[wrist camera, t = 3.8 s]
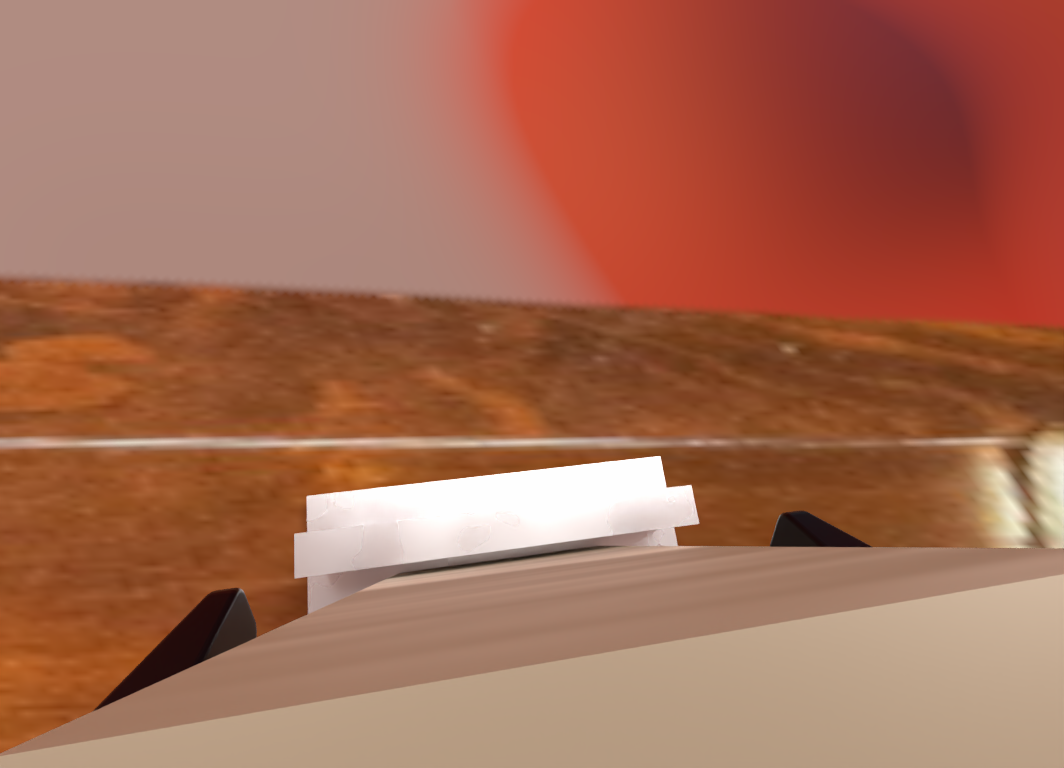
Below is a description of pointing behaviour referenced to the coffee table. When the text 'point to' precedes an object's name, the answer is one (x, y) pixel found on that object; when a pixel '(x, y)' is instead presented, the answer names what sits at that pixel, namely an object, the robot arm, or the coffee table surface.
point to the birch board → (628, 669)
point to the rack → (483, 522)
